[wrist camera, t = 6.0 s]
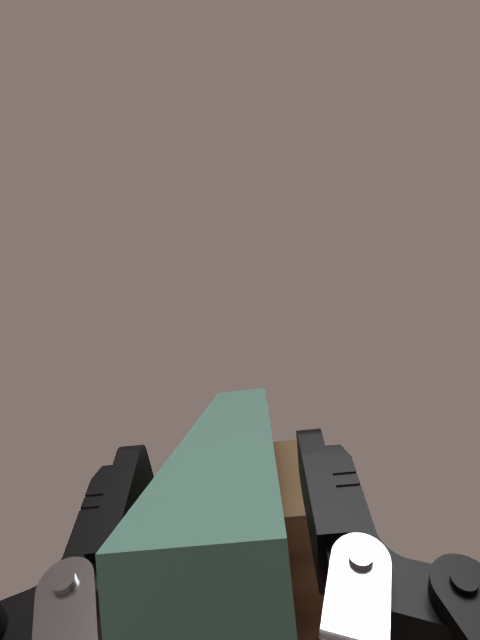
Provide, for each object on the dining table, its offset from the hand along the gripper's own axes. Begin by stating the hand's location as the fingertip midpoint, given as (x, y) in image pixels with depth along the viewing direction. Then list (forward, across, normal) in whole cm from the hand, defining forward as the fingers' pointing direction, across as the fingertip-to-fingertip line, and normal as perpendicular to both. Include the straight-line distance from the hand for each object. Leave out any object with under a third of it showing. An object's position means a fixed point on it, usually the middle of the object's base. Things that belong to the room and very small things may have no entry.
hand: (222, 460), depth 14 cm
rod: (+3, 0, +5) cm, 6 cm away
